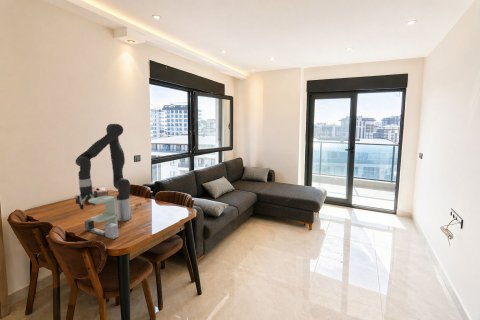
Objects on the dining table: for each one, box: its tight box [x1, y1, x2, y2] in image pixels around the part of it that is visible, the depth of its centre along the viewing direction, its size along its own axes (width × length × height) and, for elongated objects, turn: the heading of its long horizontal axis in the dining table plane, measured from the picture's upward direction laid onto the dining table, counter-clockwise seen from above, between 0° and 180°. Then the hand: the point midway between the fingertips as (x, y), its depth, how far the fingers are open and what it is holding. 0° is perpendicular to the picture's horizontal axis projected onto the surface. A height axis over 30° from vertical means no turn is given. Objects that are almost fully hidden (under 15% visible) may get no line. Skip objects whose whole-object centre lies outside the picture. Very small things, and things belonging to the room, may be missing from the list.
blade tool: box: [84, 219, 105, 236], centre depth 175 cm, size 4×18×7 cm, turn 64°
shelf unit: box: [87, 194, 119, 225], centre depth 172 cm, size 13×10×25 cm
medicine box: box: [103, 223, 120, 240], centre depth 168 cm, size 8×4×9 cm, turn 65°
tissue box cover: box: [89, 185, 109, 200], centre depth 251 cm, size 26×14×10 cm, turn 36°
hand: (88, 207), depth 176 cm, fingers open, 8 cm apart
